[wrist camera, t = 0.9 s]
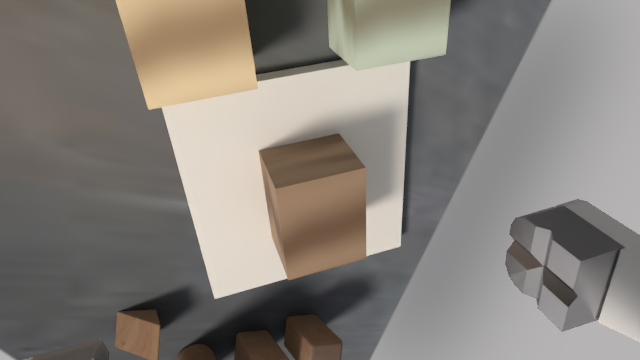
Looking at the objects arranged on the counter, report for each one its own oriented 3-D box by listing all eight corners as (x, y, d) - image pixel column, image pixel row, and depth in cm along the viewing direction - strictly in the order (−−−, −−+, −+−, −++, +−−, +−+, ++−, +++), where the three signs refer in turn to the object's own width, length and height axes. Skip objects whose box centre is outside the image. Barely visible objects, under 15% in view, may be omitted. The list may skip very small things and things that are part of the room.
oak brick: (104, -68, 24) (98, -56, 20) (218, -80, 26) (233, -71, 22) (146, 77, 29) (148, 109, 25) (241, 60, 30) (257, 89, 26)
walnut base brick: (258, 150, 33) (275, 188, 29) (338, 133, 34) (365, 167, 30) (271, 236, 37) (288, 280, 33) (342, 218, 38) (366, 258, 34)
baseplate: (158, 92, 29) (159, 99, 28) (402, 48, 33) (410, 53, 32) (212, 288, 40) (214, 299, 39) (394, 238, 43) (400, 246, 42)
